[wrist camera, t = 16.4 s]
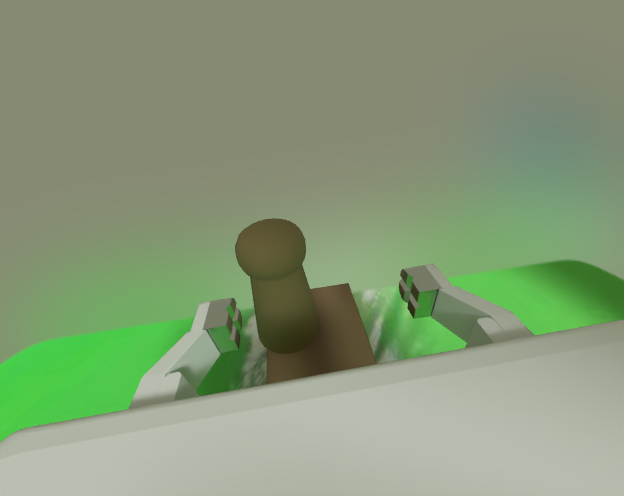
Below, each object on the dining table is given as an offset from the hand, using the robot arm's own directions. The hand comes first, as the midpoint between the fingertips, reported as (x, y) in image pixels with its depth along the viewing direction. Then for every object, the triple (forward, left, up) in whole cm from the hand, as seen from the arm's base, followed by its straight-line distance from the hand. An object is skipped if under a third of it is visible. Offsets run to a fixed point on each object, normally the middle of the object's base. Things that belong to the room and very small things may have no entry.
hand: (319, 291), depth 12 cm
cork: (+3, -7, -11) cm, 14 cm away
